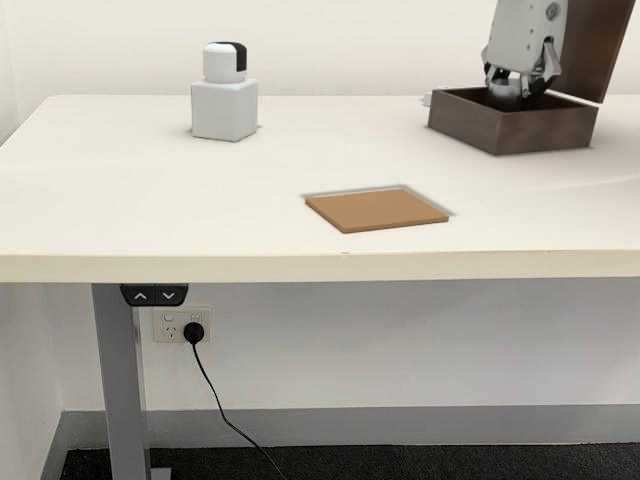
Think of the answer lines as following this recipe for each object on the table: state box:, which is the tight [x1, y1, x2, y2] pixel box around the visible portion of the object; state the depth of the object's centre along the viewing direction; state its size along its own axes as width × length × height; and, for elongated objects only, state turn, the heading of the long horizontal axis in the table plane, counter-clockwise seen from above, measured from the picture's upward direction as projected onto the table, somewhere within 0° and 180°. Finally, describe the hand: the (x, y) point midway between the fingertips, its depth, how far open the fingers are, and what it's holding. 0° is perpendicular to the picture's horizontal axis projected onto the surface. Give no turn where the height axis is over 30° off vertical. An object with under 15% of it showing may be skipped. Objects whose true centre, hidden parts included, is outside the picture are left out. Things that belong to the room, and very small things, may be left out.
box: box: [427, 85, 600, 157], centre depth 104 cm, size 15×17×6 cm
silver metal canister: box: [486, 77, 534, 113], centre depth 103 cm, size 6×6×7 cm
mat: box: [304, 188, 450, 234], centre depth 80 cm, size 12×10×1 cm
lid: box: [518, 0, 637, 105], centre depth 101 cm, size 16×17×5 cm
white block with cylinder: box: [190, 41, 259, 143], centre depth 105 cm, size 7×7×12 cm
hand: (507, 120), depth 104 cm, fingers closed on silver metal canister, 6 cm apart
